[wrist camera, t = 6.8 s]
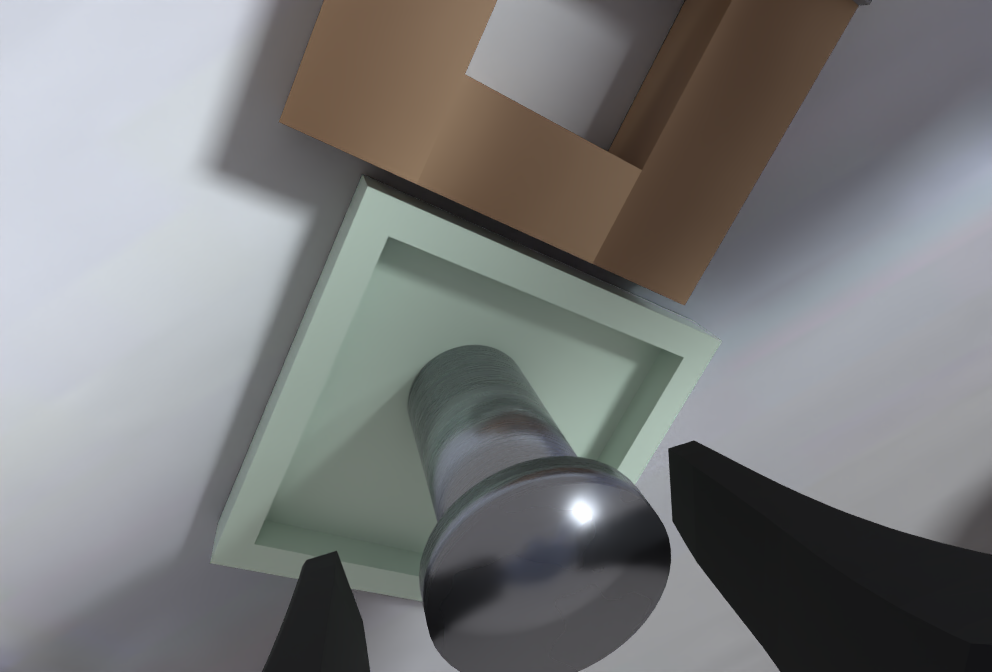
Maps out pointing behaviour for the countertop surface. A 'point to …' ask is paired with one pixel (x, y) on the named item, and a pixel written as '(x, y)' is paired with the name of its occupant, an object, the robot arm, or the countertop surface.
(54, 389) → the countertop surface
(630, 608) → the pin
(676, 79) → the block
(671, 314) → the tray
